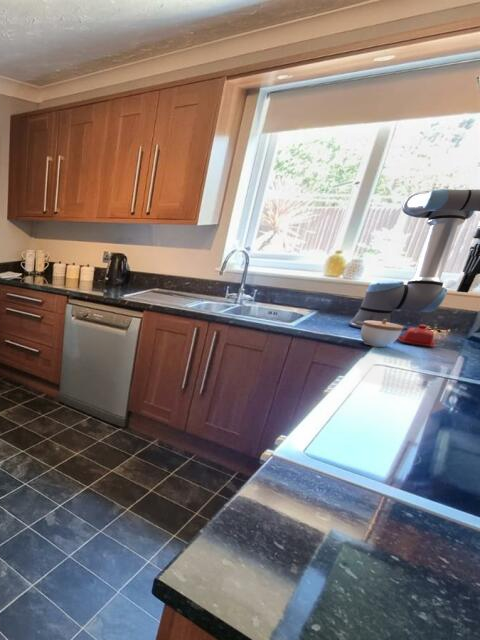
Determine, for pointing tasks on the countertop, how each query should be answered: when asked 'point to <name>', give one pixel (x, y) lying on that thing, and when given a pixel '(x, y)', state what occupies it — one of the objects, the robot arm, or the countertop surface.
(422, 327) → the butter dish
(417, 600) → the countertop surface
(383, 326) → the lidded bowl
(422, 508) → the countertop surface
